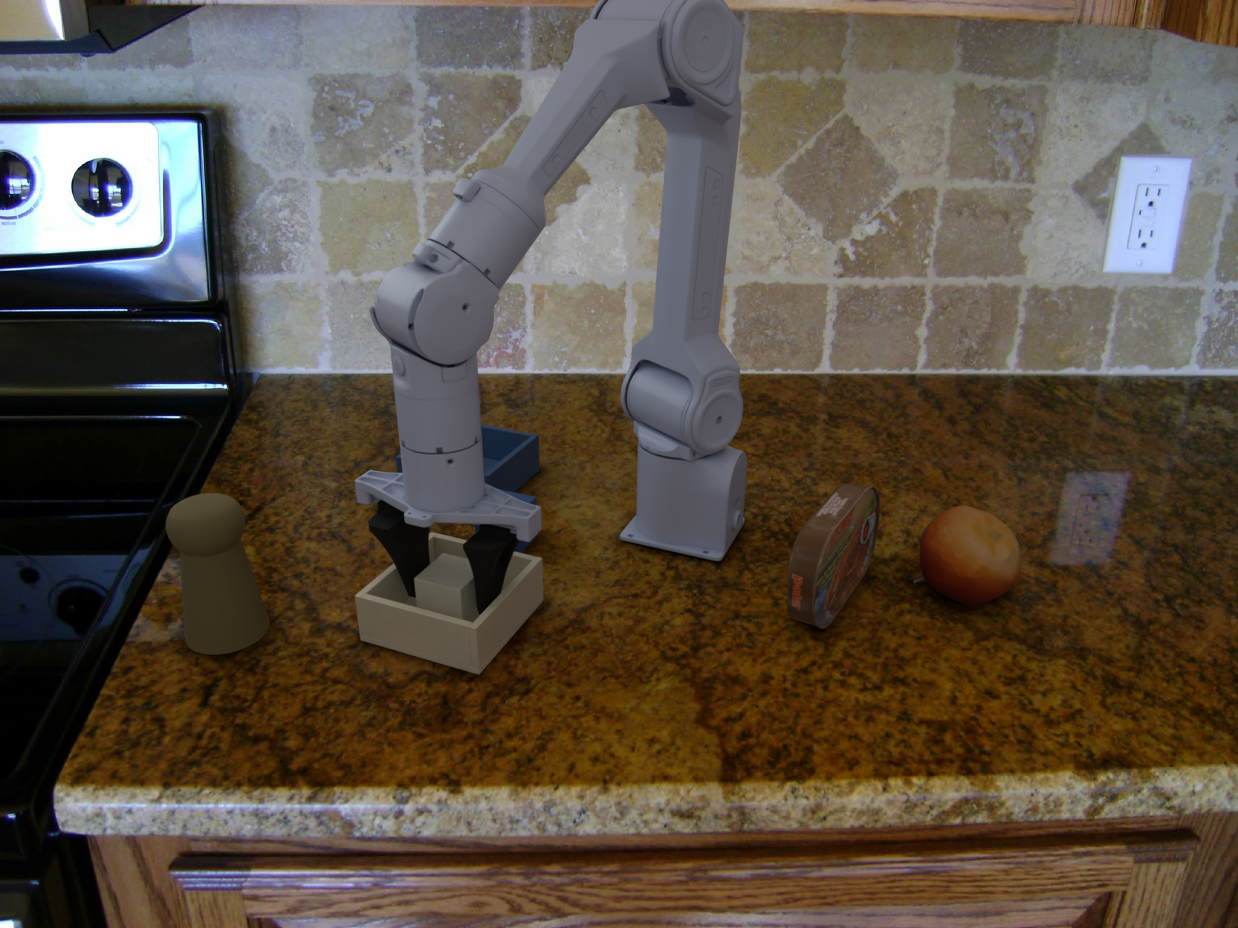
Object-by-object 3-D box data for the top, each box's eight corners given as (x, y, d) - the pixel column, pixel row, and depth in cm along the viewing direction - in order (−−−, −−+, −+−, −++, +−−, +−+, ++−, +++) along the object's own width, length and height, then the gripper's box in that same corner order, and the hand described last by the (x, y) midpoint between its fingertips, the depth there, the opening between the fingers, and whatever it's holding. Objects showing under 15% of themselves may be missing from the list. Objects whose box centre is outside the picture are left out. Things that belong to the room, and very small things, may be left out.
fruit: (925, 532, 82) (983, 478, 77) (989, 602, 80) (1055, 552, 74) (875, 566, 77) (934, 511, 71) (943, 642, 75) (1009, 591, 69)
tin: (812, 649, 69) (825, 552, 66) (773, 635, 71) (783, 540, 67) (877, 559, 81) (890, 472, 77) (842, 549, 82) (853, 463, 79)
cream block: (490, 606, 73) (487, 563, 71) (463, 635, 70) (460, 590, 68) (446, 595, 74) (442, 552, 72) (418, 622, 71) (413, 578, 69)
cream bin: (543, 600, 75) (542, 557, 73) (479, 675, 66) (475, 628, 64) (434, 572, 78) (431, 531, 76) (360, 640, 70) (354, 595, 68)
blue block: (537, 536, 84) (536, 496, 82) (516, 557, 80) (514, 517, 79) (498, 527, 85) (496, 488, 83) (476, 547, 82) (473, 507, 80)
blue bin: (540, 470, 96) (539, 434, 94) (490, 513, 87) (488, 475, 86) (454, 453, 99) (452, 418, 98) (399, 493, 91) (395, 456, 89)
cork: (242, 659, 67) (215, 527, 63) (167, 648, 68) (135, 517, 64) (285, 612, 73) (263, 487, 68) (215, 603, 74) (189, 478, 69)
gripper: (319, 441, 65) (342, 605, 70) (504, 479, 60) (512, 652, 66) (380, 406, 70) (397, 559, 76) (553, 438, 65) (556, 599, 71)
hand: (453, 599), depth 71 cm, fingers open, 6 cm apart
